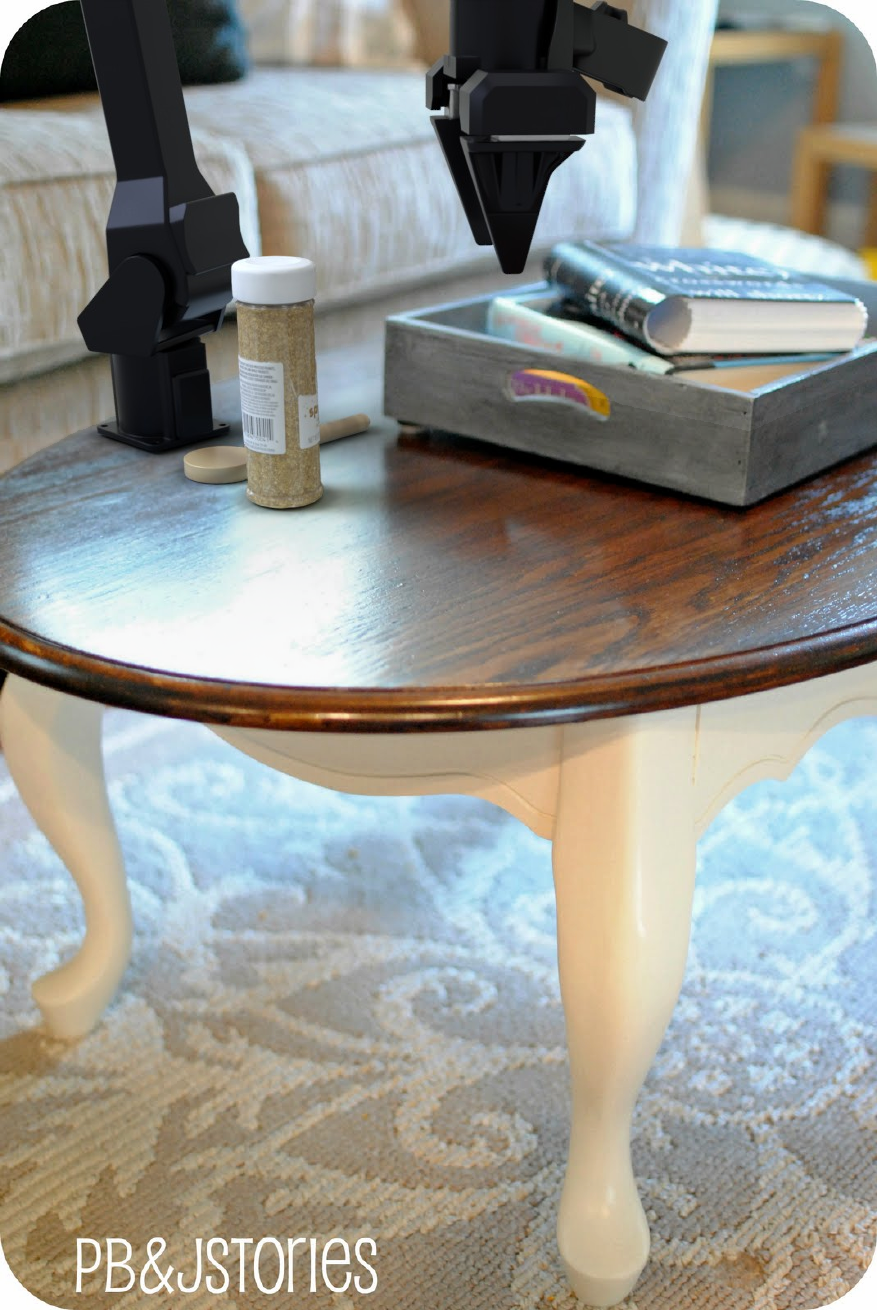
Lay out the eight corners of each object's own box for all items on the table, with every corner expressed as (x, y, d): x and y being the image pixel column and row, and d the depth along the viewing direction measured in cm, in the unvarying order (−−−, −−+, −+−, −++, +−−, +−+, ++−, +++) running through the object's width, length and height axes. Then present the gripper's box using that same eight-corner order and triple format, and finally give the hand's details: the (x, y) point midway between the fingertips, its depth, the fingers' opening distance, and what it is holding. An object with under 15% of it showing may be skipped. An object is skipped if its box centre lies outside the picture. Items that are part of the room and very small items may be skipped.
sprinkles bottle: (337, 501, 79) (330, 262, 73) (267, 516, 76) (254, 271, 71) (300, 480, 82) (290, 250, 76) (231, 493, 80) (216, 258, 74)
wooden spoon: (215, 489, 81) (214, 469, 80) (170, 472, 83) (168, 453, 83) (391, 435, 91) (390, 418, 90) (345, 422, 93) (344, 405, 93)
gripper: (713, -58, 63) (684, 288, 69) (614, -48, 79) (599, 230, 86) (473, -60, 61) (468, 292, 68) (424, -49, 78) (424, 233, 85)
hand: (498, 258), depth 77 cm, fingers open, 9 cm apart
